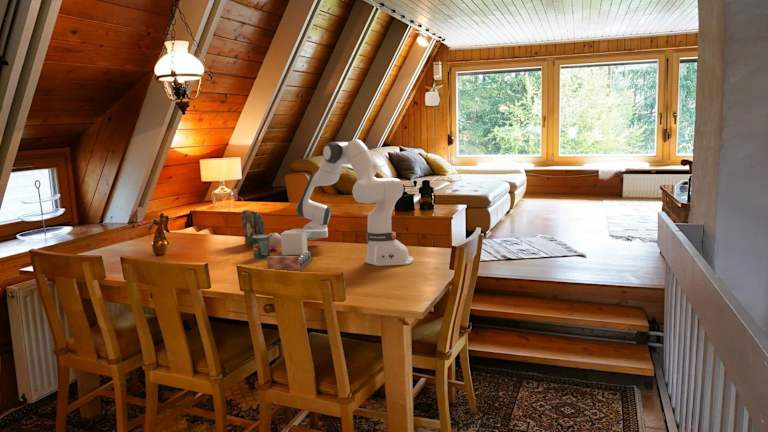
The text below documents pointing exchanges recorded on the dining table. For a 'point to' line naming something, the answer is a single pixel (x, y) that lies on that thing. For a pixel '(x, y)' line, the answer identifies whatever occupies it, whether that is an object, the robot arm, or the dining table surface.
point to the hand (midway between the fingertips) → (304, 236)
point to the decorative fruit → (274, 240)
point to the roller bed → (287, 263)
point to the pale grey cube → (294, 242)
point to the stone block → (252, 225)
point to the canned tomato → (261, 247)
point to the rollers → (302, 257)
